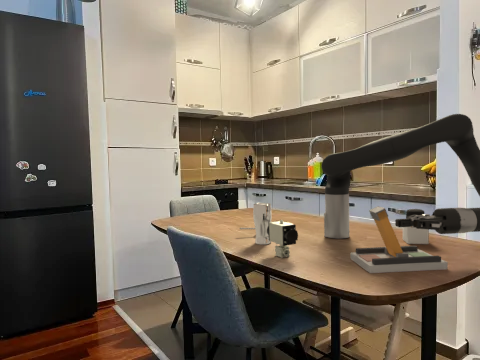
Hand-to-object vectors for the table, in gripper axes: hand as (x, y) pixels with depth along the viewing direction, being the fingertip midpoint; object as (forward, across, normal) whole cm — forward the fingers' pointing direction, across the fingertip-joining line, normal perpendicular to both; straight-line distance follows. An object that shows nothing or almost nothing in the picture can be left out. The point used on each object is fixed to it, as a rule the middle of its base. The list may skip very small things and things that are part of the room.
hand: (396, 223), depth 102 cm
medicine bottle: (-20, -25, +12) cm, 34 cm away
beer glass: (+36, -33, +12) cm, 50 cm away
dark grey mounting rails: (0, 0, +10) cm, 10 cm away
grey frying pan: (+35, -46, +12) cm, 59 cm away
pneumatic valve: (+31, -14, +12) cm, 36 cm away
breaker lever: (0, 0, +9) cm, 9 cm away
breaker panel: (0, 0, +12) cm, 12 cm away
